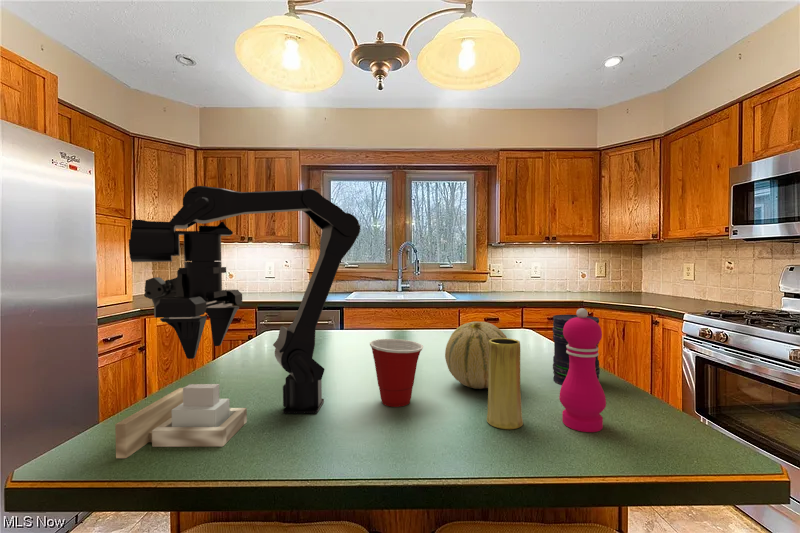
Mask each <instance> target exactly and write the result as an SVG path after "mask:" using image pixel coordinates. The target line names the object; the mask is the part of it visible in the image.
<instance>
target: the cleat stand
mask: <svg viewBox="0 0 800 533" xmlns="http://www.w3.org/2000/svg"><path fill="white" fill-rule="evenodd" d="M183 388H184V387H178V388H177V389H175V390H174V391H172V392H169V393H168V394H166V395H164V396H163V397H161V398H159V399H158V400H156V401H154V402H152V403H151V404H149V405H147V406H145V407H143V408H142V409H140V410H138V411H136V412H134V413H132V414H131V415H129V416H127V417H125V418H124V419H122V420H121V421H119V422H117V423H115V425H114V427H115V429H114V430H115V458H116V459H127V458H129V457H130V456H132V455H133V454H134V453H135V452H138V451H139V450H140V449H141V448H143V447H144V446H146V445H147V444H148V443H151V445H152V446H151V447H154V448H155V447H156V448H157V447H162V448H163V447H167V448H170V447H173V448H174V447H181V448H182V447H192V448H194V447H224V446H225V445H226V444H227V443H228V442H229V441H230V440H231V439H232V438H233V437H234V436H235V435H236V434H237V433H238V432H239V431H240V430H241V428H242V427H244V426H245V424H247V422H248V416H247V415H248V409H247V407H230V417H229V418H228V419H227V420H226V421H225V422H224V423H223V424H221V425H220V426H219V427H172V409H174V408H176V407H177V406H179V405H180V404H182V403H183Z"/></svg>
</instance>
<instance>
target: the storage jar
mask: <svg viewBox="0 0 800 533" xmlns="http://www.w3.org/2000/svg"><path fill="white" fill-rule="evenodd" d="M575 317H578V316H577V314H555V315H553V316H552V318H553V319H552V320H553V322H552V324H553V325H552V333H553V334H552V340H553V342H554V344H553V345H554V350H553V351H554V352H553V353H554V355H553V357H552V358H553V359H552V360H553V361H552V362H553V363H552V372H553V382H554V383H555V384H557V385H560V386H562V384H563V382H564V380H565V378H566V376H567V374H568V370H569V362H570V360H569V354H567V353H566V350H567V347H566V345H567V344H568V342H567V340H566V339H565V338H564V335H563V328H564V325H565V323H566V322H567V321H568V320H570V319H572V318H575ZM586 318H590V319H592V320H594V321H596V322H597V323H598V324H599V323H600V318H599V317H597V316H592V315H587V317H586ZM599 344H600V342H599V343H598V344H597V345H596V346H597V347H598V348H599ZM595 370H596V375H597V378H598V380H599V379H600V370H601V369H600V360H599V355H598V356H596V360H595Z"/></svg>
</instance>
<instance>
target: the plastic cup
mask: <svg viewBox="0 0 800 533" xmlns="http://www.w3.org/2000/svg"><path fill="white" fill-rule="evenodd" d="M369 346H370V347H371V351H372V357H373V361H374V366H375V374H376V379H377V386H378V389H379V395H380V400H381V403H382V404H383V405H384V406H386V407H394V408H400V407H405V406H407V405H409V404H410V402H411V399H412V393H413V387H414V384H415V383H414V382H415V378H416V372H417V365H418V360H419V356H420V353H422V352H421V351H423V348H424V345H422V343H420V342H417V341H413V340H408V339H399V338H397V339H396V338H380V339H379V338H378V339H374V340H371V341H370V342H369Z"/></svg>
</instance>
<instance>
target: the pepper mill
mask: <svg viewBox="0 0 800 533" xmlns="http://www.w3.org/2000/svg"><path fill="white" fill-rule="evenodd" d="M575 315H577V316H578V317H575V318H572V319H570V320H568V321H567V322H566V323H565V325H564V328H563V335H564V338H565V339H566V340H567V342H568V344H567V345H566V347H567V350H566V353H567V354H569V360H570V362H569V370H568V374H567V376H566V378H565V380H564V382H563V384H562V385H560V386H561V387H560V389H559V390H560V391H559V396H558V397H559V402H560V404H561V405H562V406H563V408H564V409H563V410H562V419H561V420H562V423H563V425H565V426H566V427H568V428H569V429H572V430H574V431H578V432H584V433H597V432H600V431H602V430H603V428H604V420H603V419H604V417H603V416H602V415H601V413H602V412H603V411H604V410H605V409H606V406H607V398H606V394H605V391H604V389H603V387H602V384H601V383H600V381H599V379H598V378H597V375H596V370H595V360H596V356H598V357H599V355H600V354H599V349H600V348H599V346H598V347H597V346H596V345H597V344H598V343H599V344H600V342H601V340H602V336H603V332H602V327H601V326H600V324H599V323H597V322H596V321H594V320H592V319H590V318H586V317H587V316H589V313H588V310H587V309H586V308H583V307H582V308H578V309H576V313H575ZM599 344H598V345H599Z"/></svg>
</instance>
